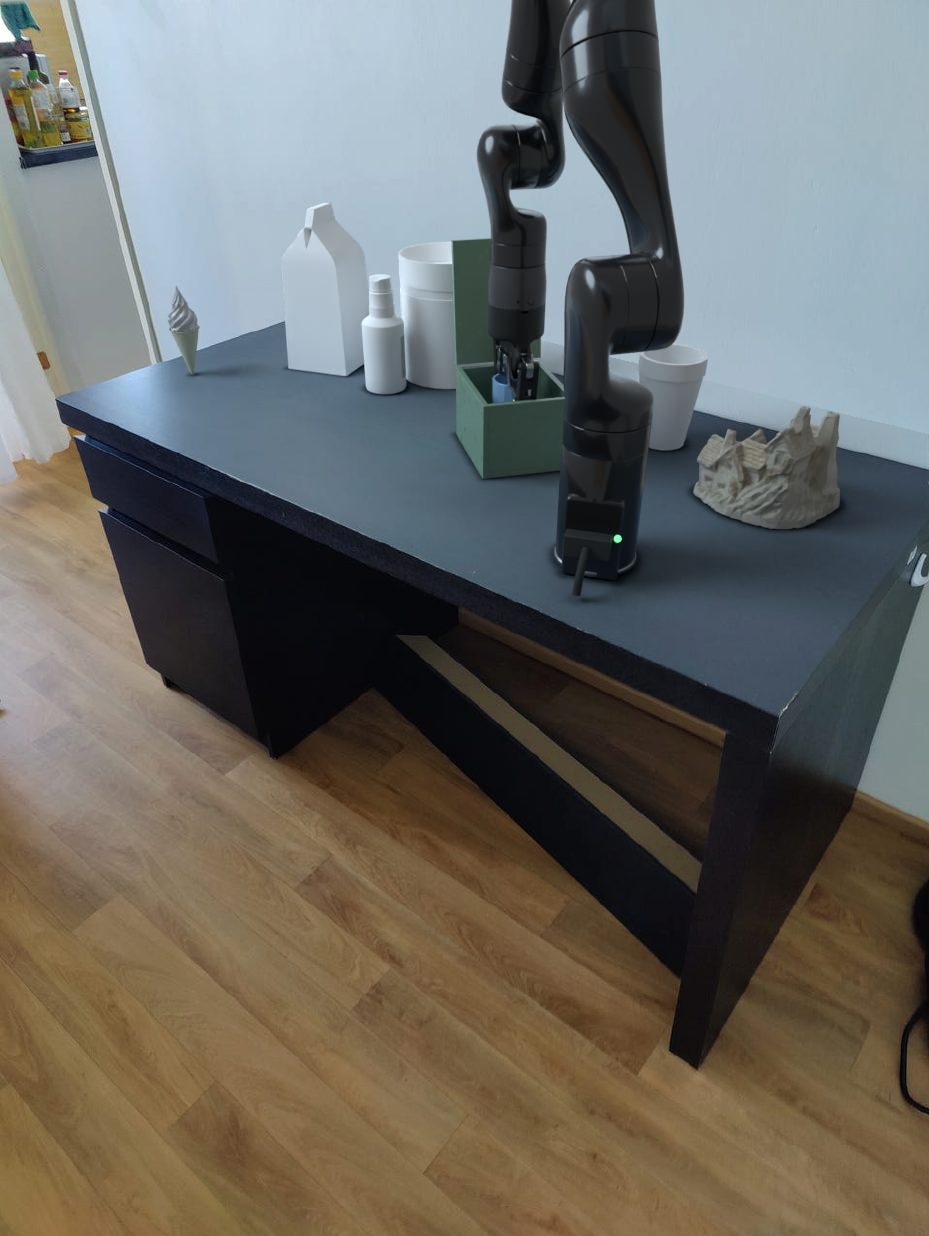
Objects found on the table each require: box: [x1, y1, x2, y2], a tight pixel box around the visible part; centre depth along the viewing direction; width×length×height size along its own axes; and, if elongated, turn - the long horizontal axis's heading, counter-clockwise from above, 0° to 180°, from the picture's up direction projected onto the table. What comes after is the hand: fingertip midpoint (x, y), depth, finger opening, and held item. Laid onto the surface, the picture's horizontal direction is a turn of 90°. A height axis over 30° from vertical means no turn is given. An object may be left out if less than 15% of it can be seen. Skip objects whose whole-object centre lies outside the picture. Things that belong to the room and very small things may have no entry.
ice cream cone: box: [167, 285, 200, 376], centre depth 151 cm, size 5×5×15 cm
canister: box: [397, 241, 494, 390], centre depth 150 cm, size 16×16×20 cm
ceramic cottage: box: [692, 405, 841, 530], centre depth 111 cm, size 16×16×15 cm
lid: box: [450, 237, 542, 365], centre depth 126 cm, size 16×13×5 cm
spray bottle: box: [362, 273, 407, 395], centre depth 144 cm, size 7×7×18 cm
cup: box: [492, 374, 526, 403], centre depth 123 cm, size 6×6×8 cm
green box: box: [455, 360, 565, 480], centre depth 125 cm, size 16×13×10 cm
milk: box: [280, 202, 370, 377], centre depth 153 cm, size 12×12×26 cm
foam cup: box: [637, 343, 709, 451], centre depth 127 cm, size 10×9×13 cm
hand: (513, 420), depth 124 cm, fingers closed on cup, 6 cm apart
